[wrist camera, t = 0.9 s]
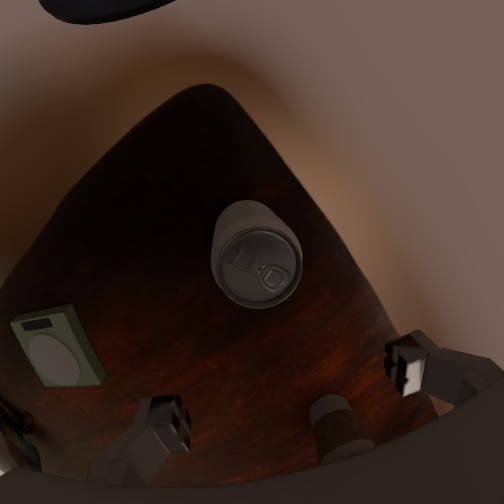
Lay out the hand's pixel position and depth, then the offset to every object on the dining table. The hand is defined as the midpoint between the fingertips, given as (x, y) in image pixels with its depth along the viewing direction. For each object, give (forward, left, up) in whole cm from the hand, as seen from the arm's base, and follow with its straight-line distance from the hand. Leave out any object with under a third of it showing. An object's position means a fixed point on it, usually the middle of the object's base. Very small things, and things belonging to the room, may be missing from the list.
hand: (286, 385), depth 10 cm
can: (-1, 0, -22) cm, 22 cm away
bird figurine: (+24, -51, -22) cm, 61 cm away
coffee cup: (+28, +6, -22) cm, 36 cm away
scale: (+8, -28, -22) cm, 36 cm away
